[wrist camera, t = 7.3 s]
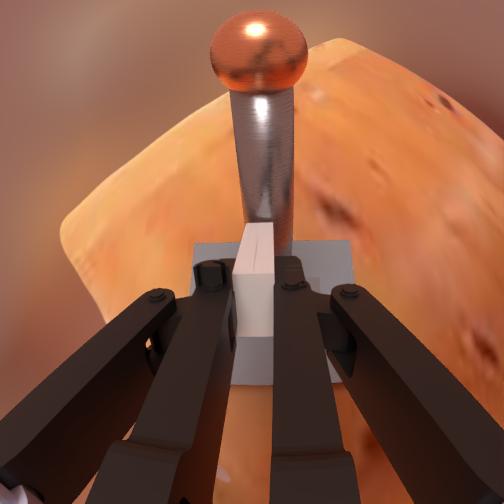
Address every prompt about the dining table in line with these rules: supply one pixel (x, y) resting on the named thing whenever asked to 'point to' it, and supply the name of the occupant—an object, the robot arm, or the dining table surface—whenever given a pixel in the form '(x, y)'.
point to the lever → (263, 112)
